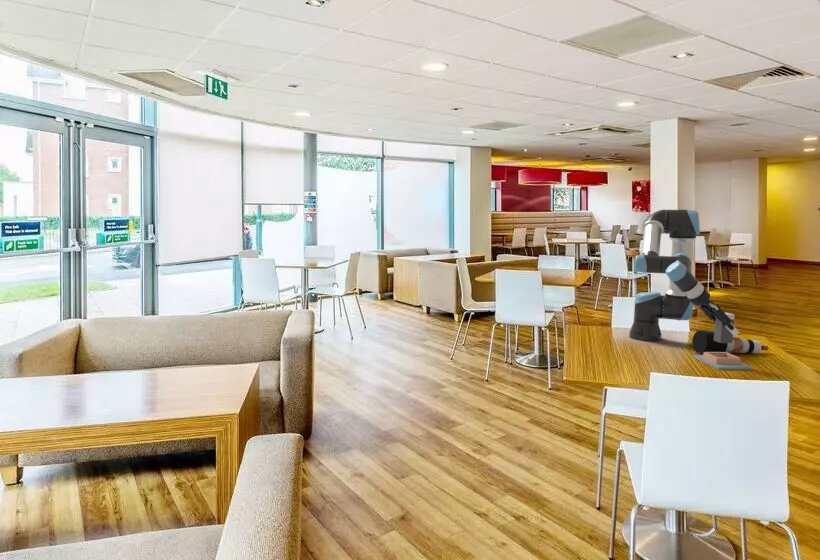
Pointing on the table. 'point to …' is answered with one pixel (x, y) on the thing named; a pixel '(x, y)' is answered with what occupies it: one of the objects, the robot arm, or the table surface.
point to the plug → (723, 330)
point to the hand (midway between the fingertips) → (732, 332)
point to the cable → (724, 344)
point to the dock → (722, 361)
